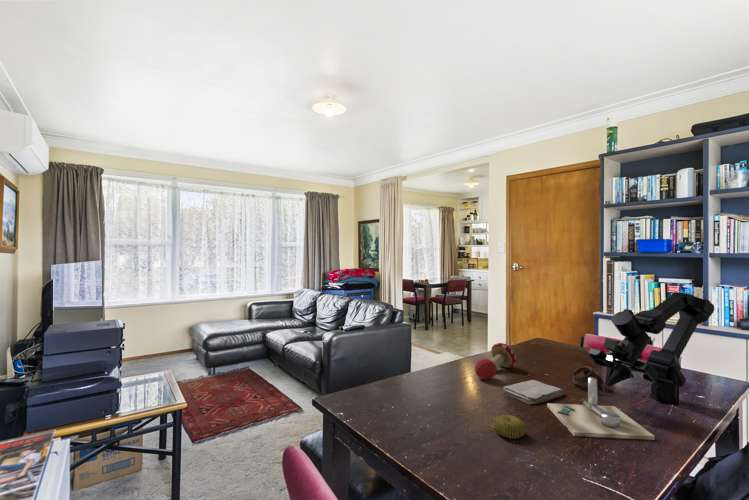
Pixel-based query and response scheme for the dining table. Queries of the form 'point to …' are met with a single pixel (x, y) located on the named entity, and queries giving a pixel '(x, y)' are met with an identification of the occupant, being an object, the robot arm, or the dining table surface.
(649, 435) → the napkin
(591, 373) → the pottery mug
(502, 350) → the decorative mushroom
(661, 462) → the dining table surface
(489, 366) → the tomato
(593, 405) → the crank handle
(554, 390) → the washcloth
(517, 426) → the green sea urchin shell
